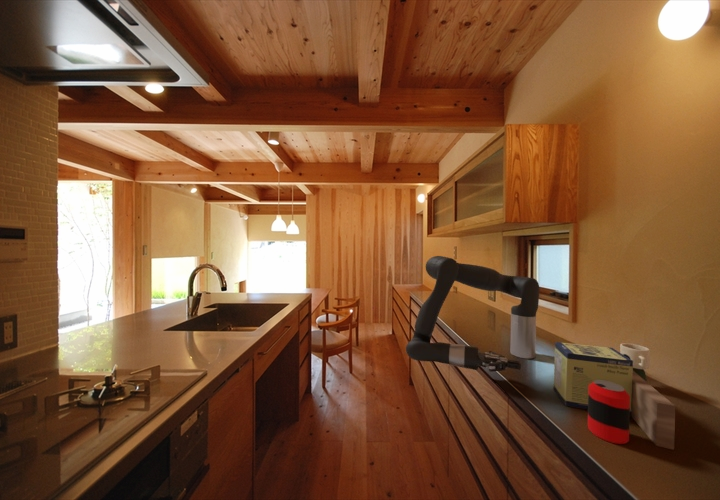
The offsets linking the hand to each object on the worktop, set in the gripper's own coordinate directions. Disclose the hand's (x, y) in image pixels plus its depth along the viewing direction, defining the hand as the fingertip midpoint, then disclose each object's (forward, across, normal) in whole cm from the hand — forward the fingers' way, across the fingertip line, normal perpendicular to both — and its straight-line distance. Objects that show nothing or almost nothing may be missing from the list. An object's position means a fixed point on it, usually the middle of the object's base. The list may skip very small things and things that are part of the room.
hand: (520, 365), depth 91 cm
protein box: (+18, -1, +7) cm, 19 cm away
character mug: (+35, +19, +7) cm, 40 cm away
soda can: (+17, -17, +7) cm, 25 cm away
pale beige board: (+27, -4, +7) cm, 29 cm away
